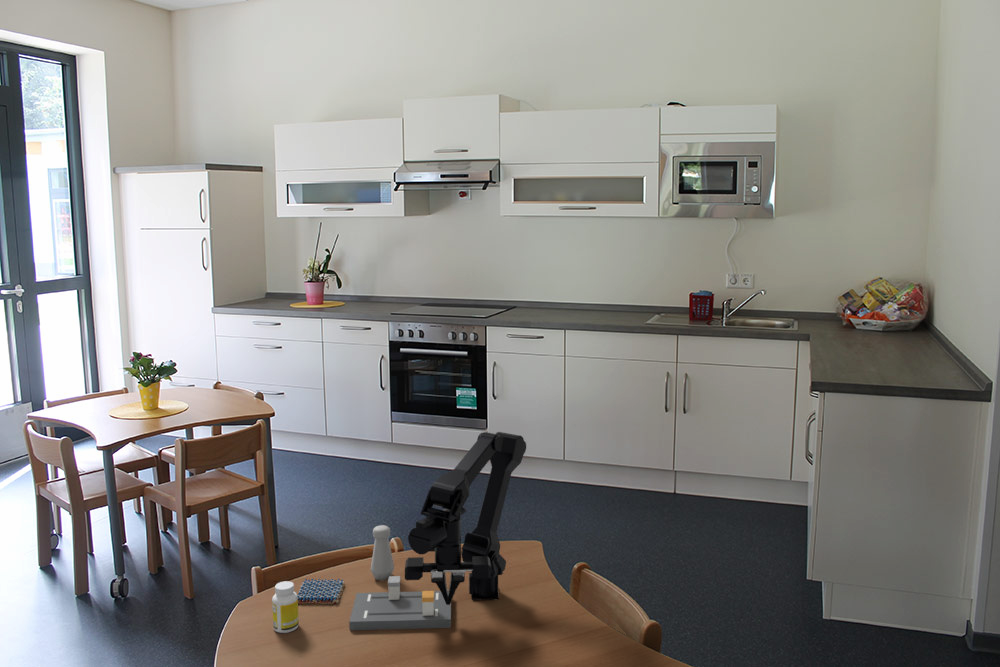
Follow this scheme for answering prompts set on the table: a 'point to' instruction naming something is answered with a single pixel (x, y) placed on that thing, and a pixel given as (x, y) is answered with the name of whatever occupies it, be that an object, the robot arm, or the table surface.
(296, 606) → the supplement bottle
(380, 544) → the salt shaker
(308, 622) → the table surface
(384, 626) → the console
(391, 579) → the grey fader
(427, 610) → the orange fader
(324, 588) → the woven mat
